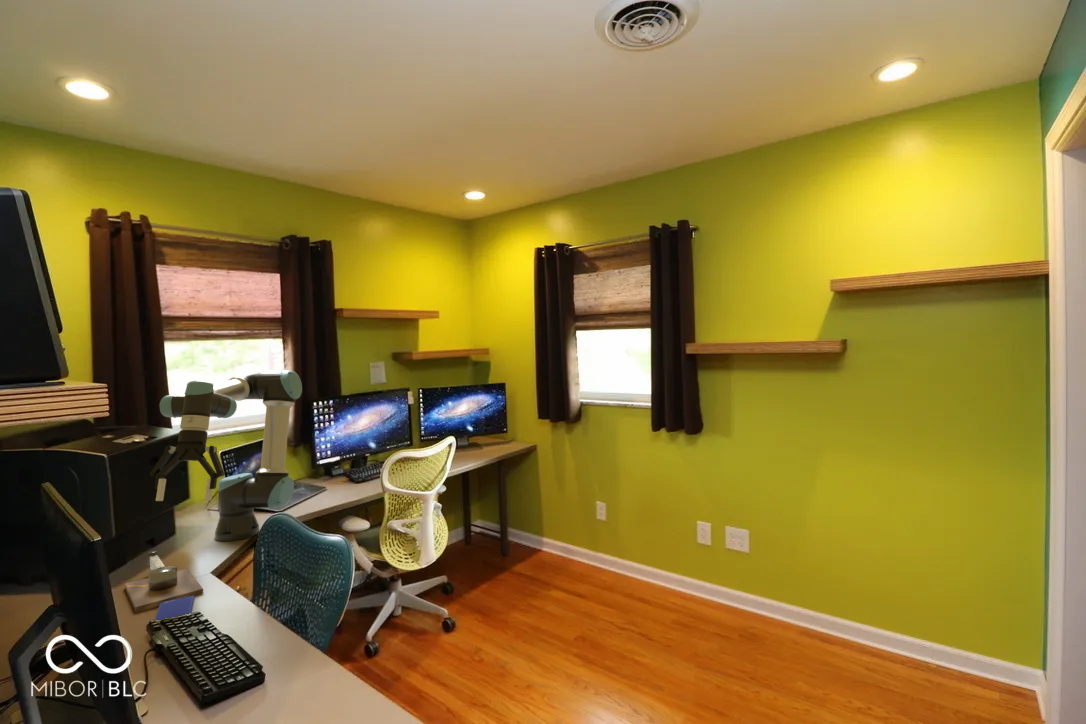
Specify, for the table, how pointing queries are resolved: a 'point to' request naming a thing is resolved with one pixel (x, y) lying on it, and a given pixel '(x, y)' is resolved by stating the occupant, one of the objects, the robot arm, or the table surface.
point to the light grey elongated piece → (160, 573)
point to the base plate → (162, 591)
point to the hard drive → (175, 608)
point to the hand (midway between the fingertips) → (183, 500)
